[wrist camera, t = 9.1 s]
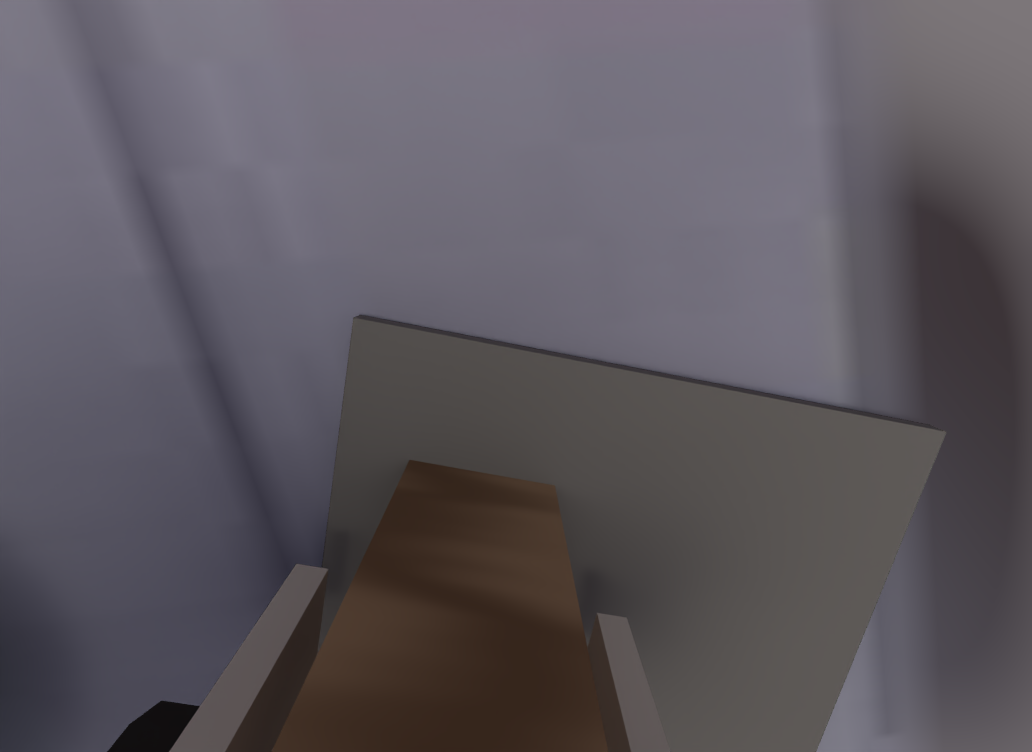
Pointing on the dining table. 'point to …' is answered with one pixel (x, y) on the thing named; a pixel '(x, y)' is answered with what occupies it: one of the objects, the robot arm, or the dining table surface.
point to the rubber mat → (655, 512)
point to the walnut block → (455, 630)
